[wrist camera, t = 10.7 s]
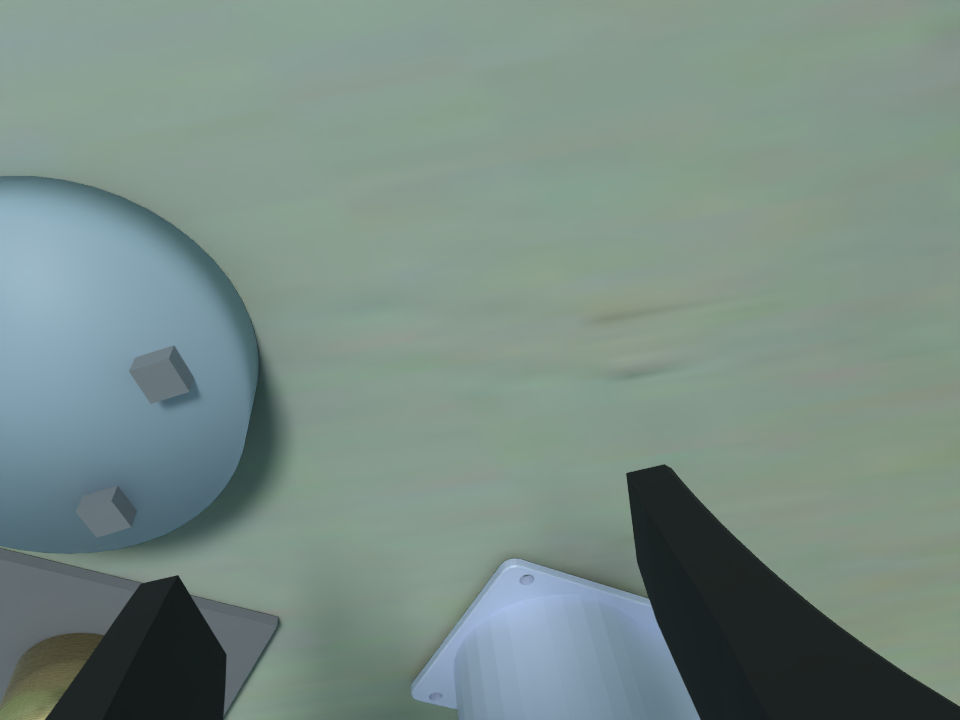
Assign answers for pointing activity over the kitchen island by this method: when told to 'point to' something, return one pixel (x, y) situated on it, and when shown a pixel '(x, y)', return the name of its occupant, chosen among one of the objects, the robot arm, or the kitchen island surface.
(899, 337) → the kitchen island surface
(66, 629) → the mat
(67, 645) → the knob
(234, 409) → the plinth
